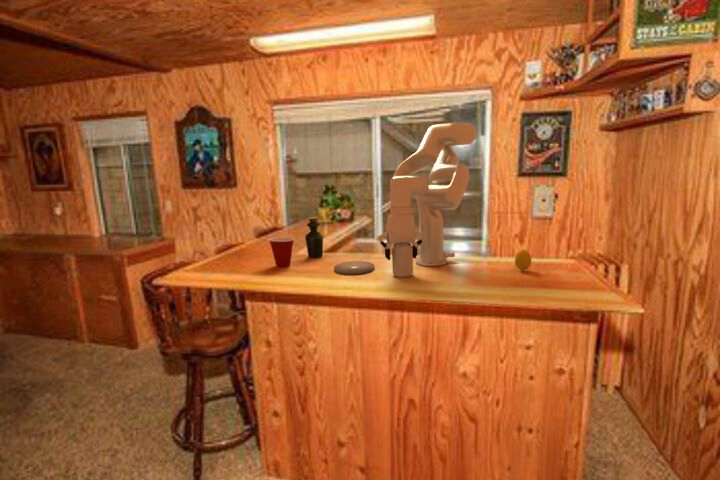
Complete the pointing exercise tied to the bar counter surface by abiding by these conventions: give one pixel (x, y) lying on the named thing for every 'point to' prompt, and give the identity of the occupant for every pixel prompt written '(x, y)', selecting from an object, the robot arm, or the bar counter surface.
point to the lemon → (523, 260)
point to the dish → (354, 268)
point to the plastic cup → (282, 250)
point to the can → (402, 260)
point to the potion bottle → (314, 239)
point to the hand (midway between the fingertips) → (401, 258)
